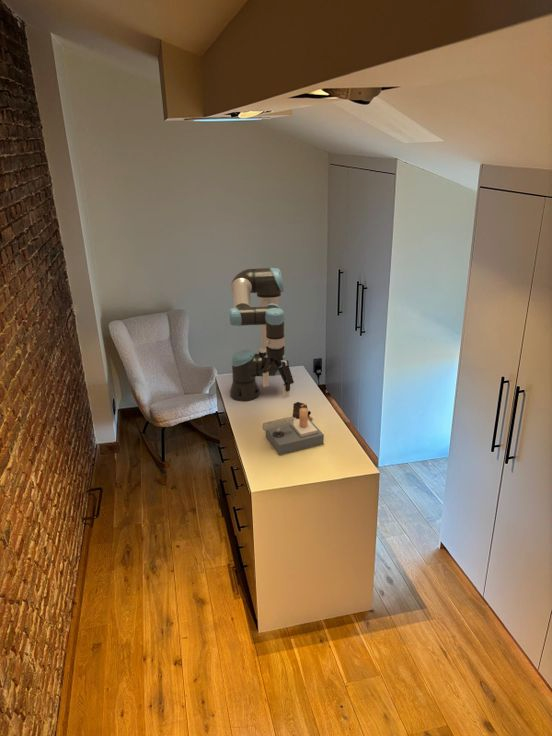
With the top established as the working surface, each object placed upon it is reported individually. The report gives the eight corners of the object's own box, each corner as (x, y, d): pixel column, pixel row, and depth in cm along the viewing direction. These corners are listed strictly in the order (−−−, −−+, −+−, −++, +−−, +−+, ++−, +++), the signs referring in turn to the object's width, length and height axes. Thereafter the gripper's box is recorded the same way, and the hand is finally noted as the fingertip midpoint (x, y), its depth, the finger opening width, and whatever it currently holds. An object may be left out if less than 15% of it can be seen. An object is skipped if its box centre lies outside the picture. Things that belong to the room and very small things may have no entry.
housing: (265, 436, 245) (265, 426, 243) (307, 426, 252) (307, 417, 250) (279, 455, 231) (279, 445, 229) (323, 444, 239) (323, 434, 236)
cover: (289, 423, 245) (289, 405, 241) (305, 420, 247) (306, 401, 243) (300, 437, 235) (301, 418, 231) (317, 433, 237) (318, 414, 233)
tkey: (262, 436, 235) (262, 423, 232) (292, 429, 240) (292, 416, 237) (264, 438, 234) (263, 425, 231) (294, 431, 238) (294, 418, 236)
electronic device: (306, 423, 254) (306, 409, 251) (291, 416, 261) (291, 402, 258) (313, 420, 257) (313, 406, 254) (298, 413, 264) (298, 399, 260)
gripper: (249, 339, 230) (251, 384, 240) (288, 357, 213) (288, 405, 222) (263, 335, 235) (264, 379, 244) (302, 352, 217) (302, 399, 227)
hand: (276, 391), depth 233 cm, fingers open, 13 cm apart
